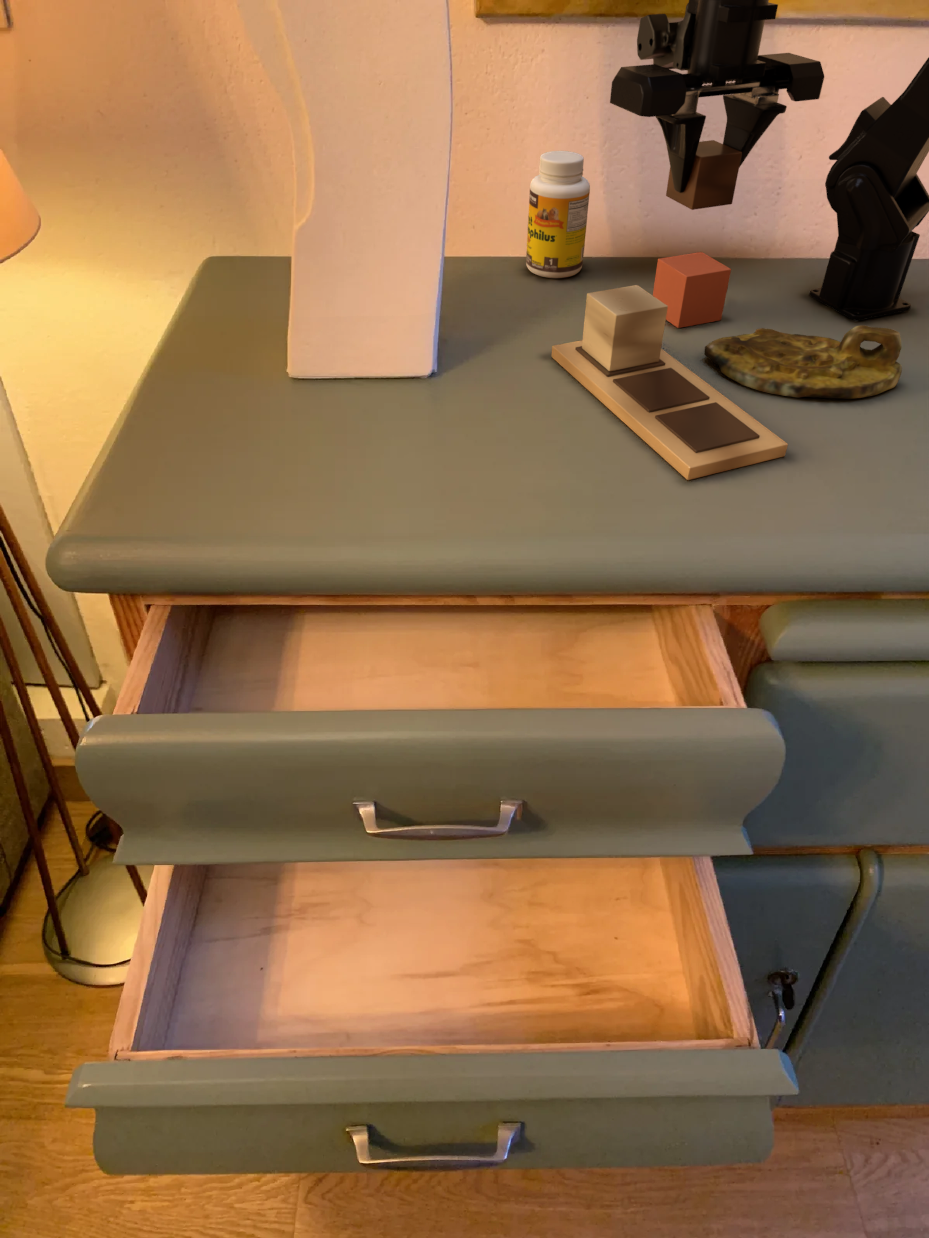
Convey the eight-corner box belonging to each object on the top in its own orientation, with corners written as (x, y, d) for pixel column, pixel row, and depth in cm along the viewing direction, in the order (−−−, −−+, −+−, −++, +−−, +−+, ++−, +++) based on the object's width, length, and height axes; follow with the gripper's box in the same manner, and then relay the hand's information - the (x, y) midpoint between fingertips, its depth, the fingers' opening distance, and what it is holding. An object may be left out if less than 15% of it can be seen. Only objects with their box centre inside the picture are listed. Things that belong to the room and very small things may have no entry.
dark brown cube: (704, 190, 87) (713, 139, 84) (732, 204, 84) (742, 152, 81) (665, 196, 85) (672, 144, 82) (691, 210, 82) (700, 157, 79)
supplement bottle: (514, 267, 88) (518, 154, 81) (557, 255, 90) (565, 144, 83) (550, 285, 84) (558, 168, 78) (594, 272, 87) (605, 158, 80)
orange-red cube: (692, 301, 82) (701, 251, 79) (721, 320, 79) (731, 269, 76) (650, 309, 80) (657, 258, 77) (677, 328, 77) (686, 276, 74)
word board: (635, 341, 75) (644, 273, 72) (785, 456, 62) (806, 380, 58) (550, 357, 73) (556, 288, 69) (687, 480, 59) (703, 403, 56)
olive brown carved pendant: (697, 399, 70) (899, 420, 67) (707, 345, 66) (921, 365, 64) (705, 337, 76) (890, 354, 73) (714, 285, 72) (910, 301, 70)
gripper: (767, -30, 82) (732, 156, 92) (588, -21, 76) (572, 176, 87) (851, -14, 74) (802, 186, 84) (658, -3, 68) (632, 210, 79)
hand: (700, 188), depth 84 cm, fingers closed on dark brown cube, 4 cm apart
